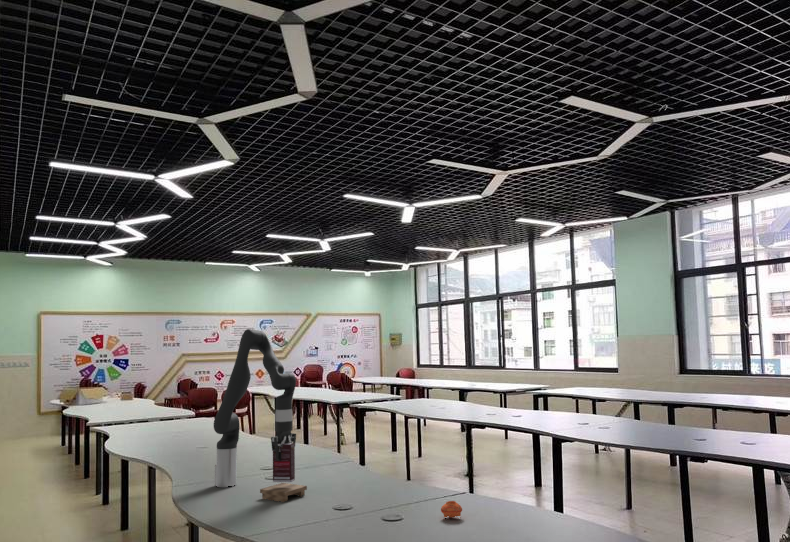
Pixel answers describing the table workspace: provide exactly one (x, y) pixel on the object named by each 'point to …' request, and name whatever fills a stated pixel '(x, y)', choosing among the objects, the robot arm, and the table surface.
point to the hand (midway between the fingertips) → (283, 459)
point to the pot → (451, 509)
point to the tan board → (282, 491)
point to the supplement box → (284, 464)
